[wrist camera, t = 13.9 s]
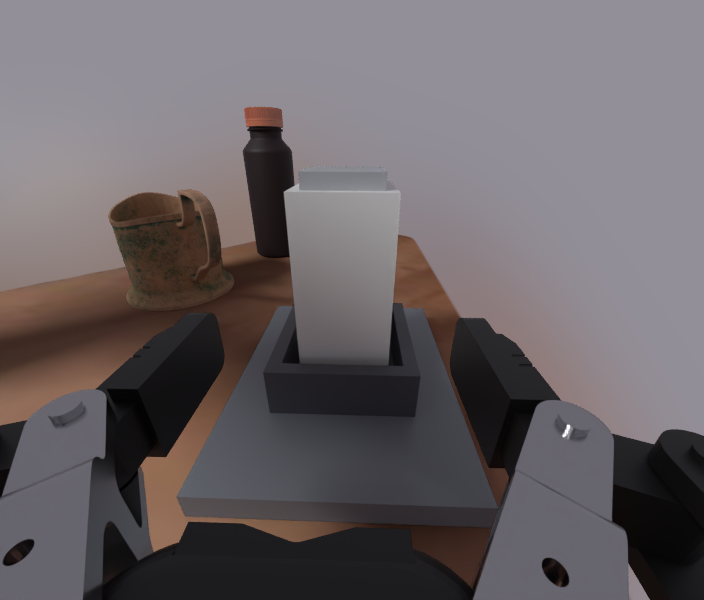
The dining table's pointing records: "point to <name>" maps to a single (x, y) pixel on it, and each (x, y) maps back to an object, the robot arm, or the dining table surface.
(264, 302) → the dining table surface
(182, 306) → the mug
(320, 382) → the dock
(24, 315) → the dining table surface
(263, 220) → the bottle
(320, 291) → the grey tall block
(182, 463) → the dining table surface
